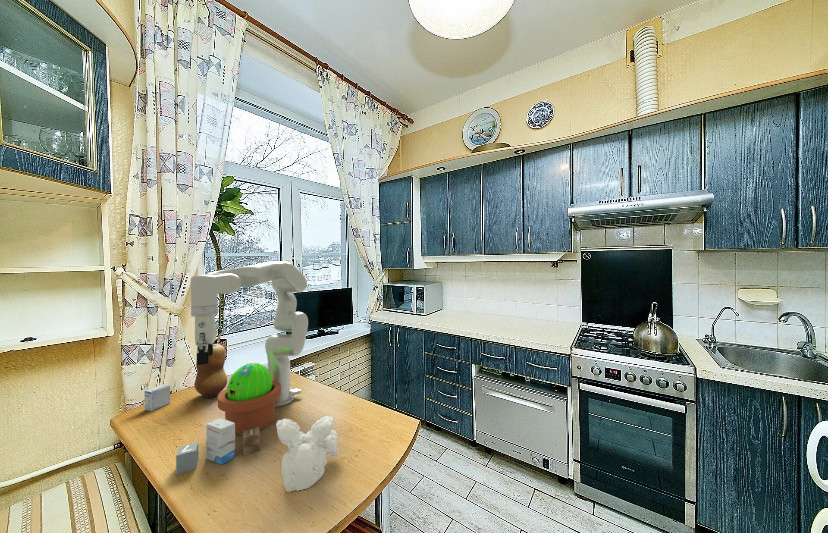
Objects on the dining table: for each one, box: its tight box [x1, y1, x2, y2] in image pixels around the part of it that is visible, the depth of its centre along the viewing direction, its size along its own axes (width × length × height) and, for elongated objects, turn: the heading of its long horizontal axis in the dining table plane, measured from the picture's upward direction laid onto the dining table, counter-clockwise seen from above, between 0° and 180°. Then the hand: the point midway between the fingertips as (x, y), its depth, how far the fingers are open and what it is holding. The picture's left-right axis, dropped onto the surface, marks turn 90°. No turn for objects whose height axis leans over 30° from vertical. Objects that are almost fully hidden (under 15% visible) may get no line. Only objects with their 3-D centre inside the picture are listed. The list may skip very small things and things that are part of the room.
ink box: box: [205, 417, 236, 466], centre depth 99 cm, size 9×5×12 cm, turn 65°
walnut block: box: [242, 427, 261, 456], centre depth 104 cm, size 5×5×6 cm
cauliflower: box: [275, 415, 338, 493], centre depth 93 cm, size 19×20×20 cm
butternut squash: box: [194, 343, 228, 399], centre depth 145 cm, size 14×13×25 cm
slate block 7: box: [175, 441, 200, 475], centre depth 95 cm, size 5×5×6 cm
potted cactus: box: [217, 362, 281, 436], centre depth 120 cm, size 22×22×25 cm
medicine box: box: [144, 383, 171, 412], centre depth 134 cm, size 8×4×9 cm, turn 164°
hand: (205, 359), depth 102 cm, fingers open, 9 cm apart
